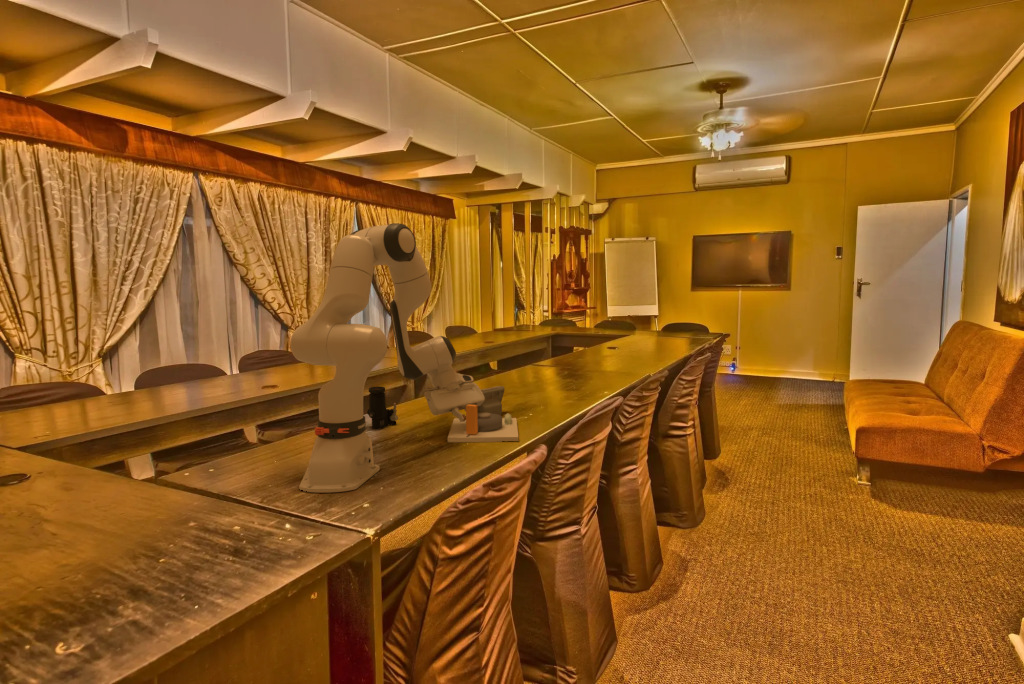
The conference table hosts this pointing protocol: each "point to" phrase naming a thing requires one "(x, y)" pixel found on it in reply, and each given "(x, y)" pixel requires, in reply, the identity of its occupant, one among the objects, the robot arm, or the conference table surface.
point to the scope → (380, 409)
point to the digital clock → (492, 400)
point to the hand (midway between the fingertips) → (467, 419)
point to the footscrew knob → (481, 420)
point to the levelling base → (485, 432)
